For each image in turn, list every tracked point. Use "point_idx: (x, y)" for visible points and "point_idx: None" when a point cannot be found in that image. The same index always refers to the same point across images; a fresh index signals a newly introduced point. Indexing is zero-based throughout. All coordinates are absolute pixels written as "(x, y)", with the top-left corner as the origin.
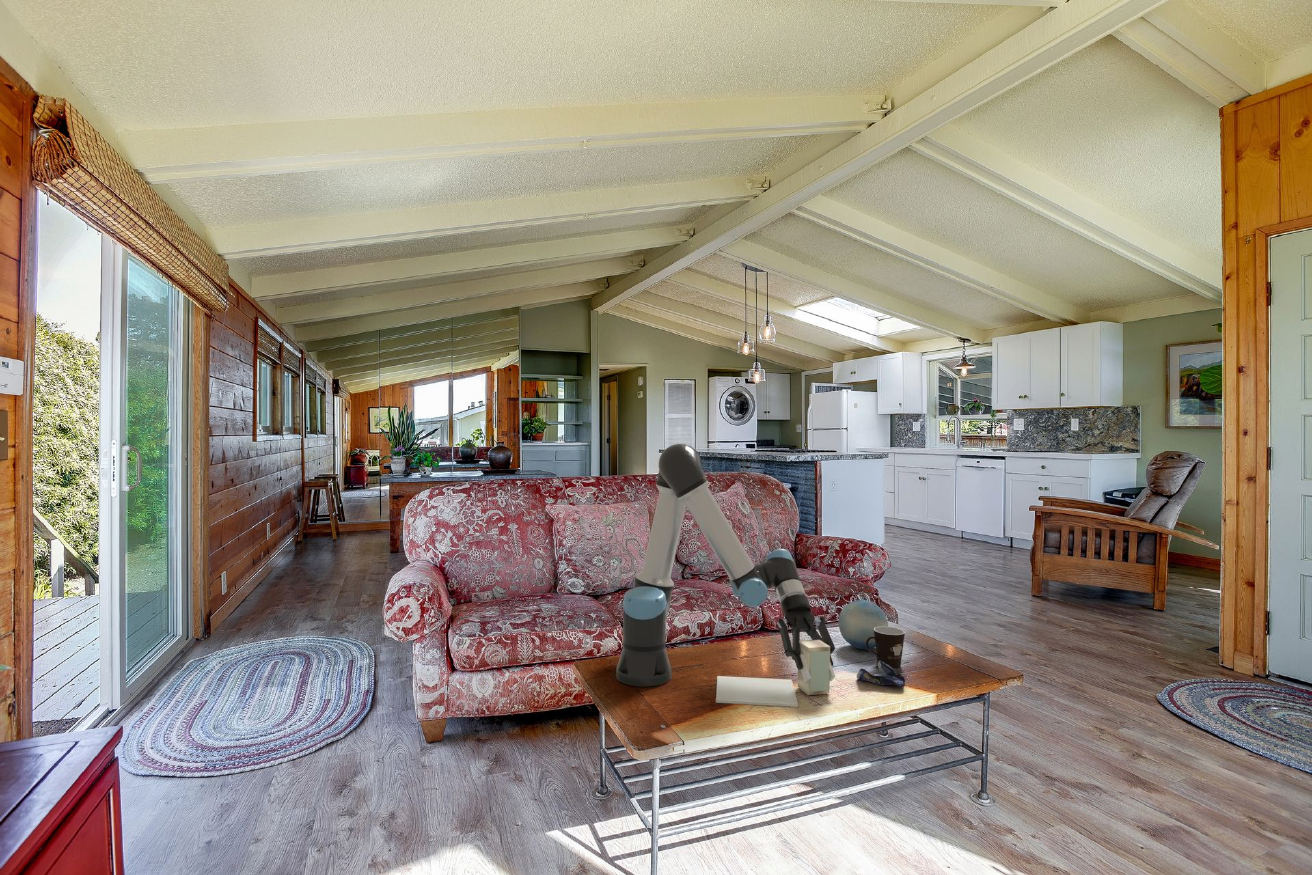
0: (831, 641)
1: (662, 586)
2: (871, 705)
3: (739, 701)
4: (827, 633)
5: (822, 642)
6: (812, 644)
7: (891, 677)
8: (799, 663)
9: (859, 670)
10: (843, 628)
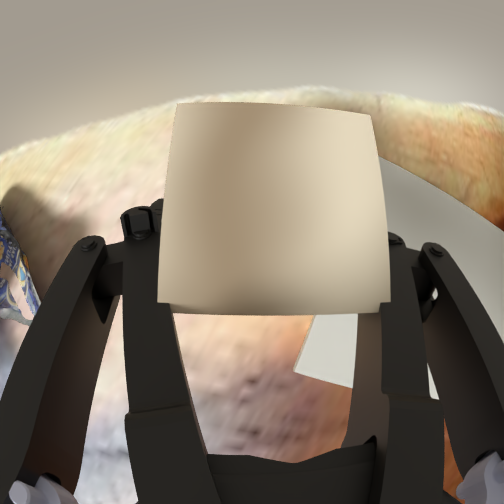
0: (61, 280)
1: None
2: (136, 117)
3: (489, 221)
4: (36, 340)
5: (172, 217)
6: (305, 179)
7: None
8: None
9: (31, 279)
10: None
